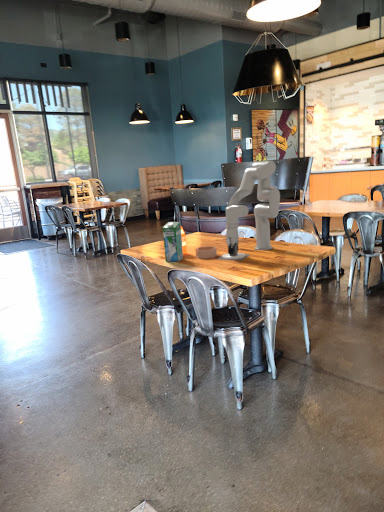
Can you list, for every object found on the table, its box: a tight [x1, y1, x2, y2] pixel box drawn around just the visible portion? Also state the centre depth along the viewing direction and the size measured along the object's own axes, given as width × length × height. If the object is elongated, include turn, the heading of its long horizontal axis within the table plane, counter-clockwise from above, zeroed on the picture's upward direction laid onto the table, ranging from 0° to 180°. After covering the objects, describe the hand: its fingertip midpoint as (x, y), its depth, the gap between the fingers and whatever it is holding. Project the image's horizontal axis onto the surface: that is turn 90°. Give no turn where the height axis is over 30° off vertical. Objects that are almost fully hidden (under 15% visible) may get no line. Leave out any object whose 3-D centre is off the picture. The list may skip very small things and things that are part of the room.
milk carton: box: [162, 221, 184, 262], centre depth 254 cm, size 9×9×25 cm
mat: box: [217, 252, 252, 262], centre depth 251 cm, size 17×17×1 cm
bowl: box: [195, 245, 218, 260], centre depth 258 cm, size 13×13×6 cm
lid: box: [221, 244, 246, 259], centre depth 250 cm, size 15×15×8 cm
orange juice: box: [181, 225, 187, 255], centre depth 272 cm, size 8×9×20 cm
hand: (233, 252), depth 250 cm, fingers open, 8 cm apart
